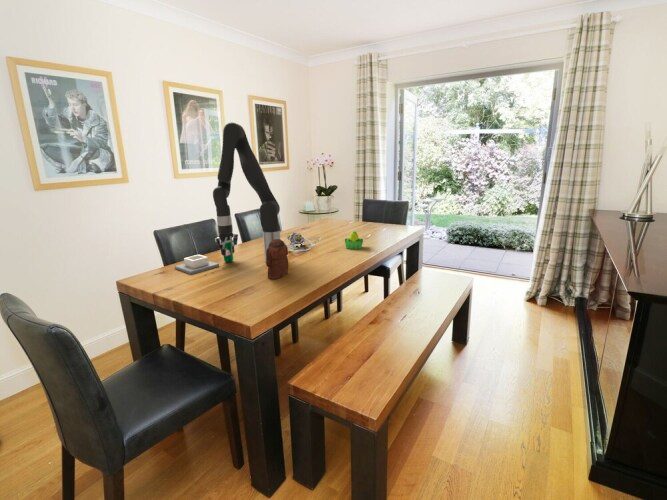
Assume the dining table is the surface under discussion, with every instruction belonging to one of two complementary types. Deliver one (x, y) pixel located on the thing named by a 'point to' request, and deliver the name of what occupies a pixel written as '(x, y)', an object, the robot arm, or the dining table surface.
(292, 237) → the passion flower
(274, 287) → the dining table surface
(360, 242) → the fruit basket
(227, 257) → the soda can
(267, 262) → the wooden figurine
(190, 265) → the can holder
